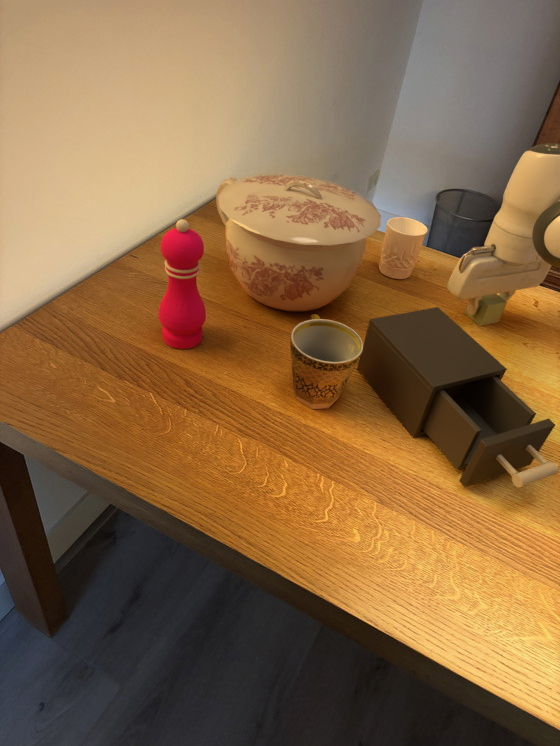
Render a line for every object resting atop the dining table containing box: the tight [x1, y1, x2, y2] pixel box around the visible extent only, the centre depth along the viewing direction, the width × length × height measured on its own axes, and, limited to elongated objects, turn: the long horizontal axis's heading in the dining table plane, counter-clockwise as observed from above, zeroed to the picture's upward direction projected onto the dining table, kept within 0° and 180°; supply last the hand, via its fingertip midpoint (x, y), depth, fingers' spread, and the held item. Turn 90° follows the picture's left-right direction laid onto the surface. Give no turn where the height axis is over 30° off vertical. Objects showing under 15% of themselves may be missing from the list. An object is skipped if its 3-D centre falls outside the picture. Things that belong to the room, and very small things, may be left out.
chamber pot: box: [215, 172, 382, 312], centre depth 95 cm, size 28×28×21 cm
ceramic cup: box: [289, 313, 364, 410], centre depth 78 cm, size 13×10×10 cm
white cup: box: [378, 216, 428, 280], centre depth 109 cm, size 8×8×10 cm
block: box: [463, 294, 508, 327], centre depth 101 cm, size 4×4×4 cm
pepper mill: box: [158, 218, 207, 350], centre depth 80 cm, size 7×7×20 cm
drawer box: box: [356, 306, 508, 439], centre depth 80 cm, size 16×13×10 cm
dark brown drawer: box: [422, 376, 559, 488], centre depth 72 cm, size 19×11×8 cm, turn 25°
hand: (484, 310), depth 101 cm, fingers closed on block, 4 cm apart
